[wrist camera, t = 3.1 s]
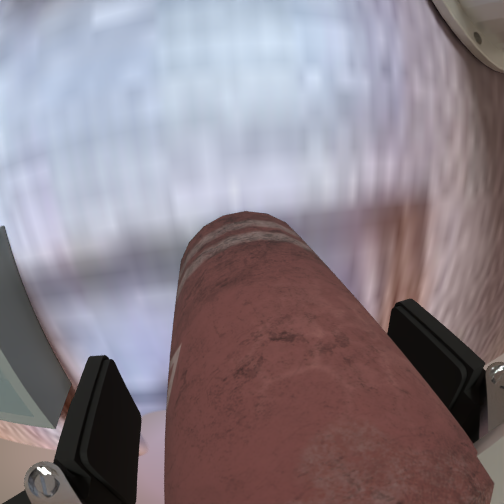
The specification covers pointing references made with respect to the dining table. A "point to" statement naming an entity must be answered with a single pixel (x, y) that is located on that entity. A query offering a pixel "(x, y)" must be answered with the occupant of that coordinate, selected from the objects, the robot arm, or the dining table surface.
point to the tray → (25, 355)
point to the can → (297, 386)
